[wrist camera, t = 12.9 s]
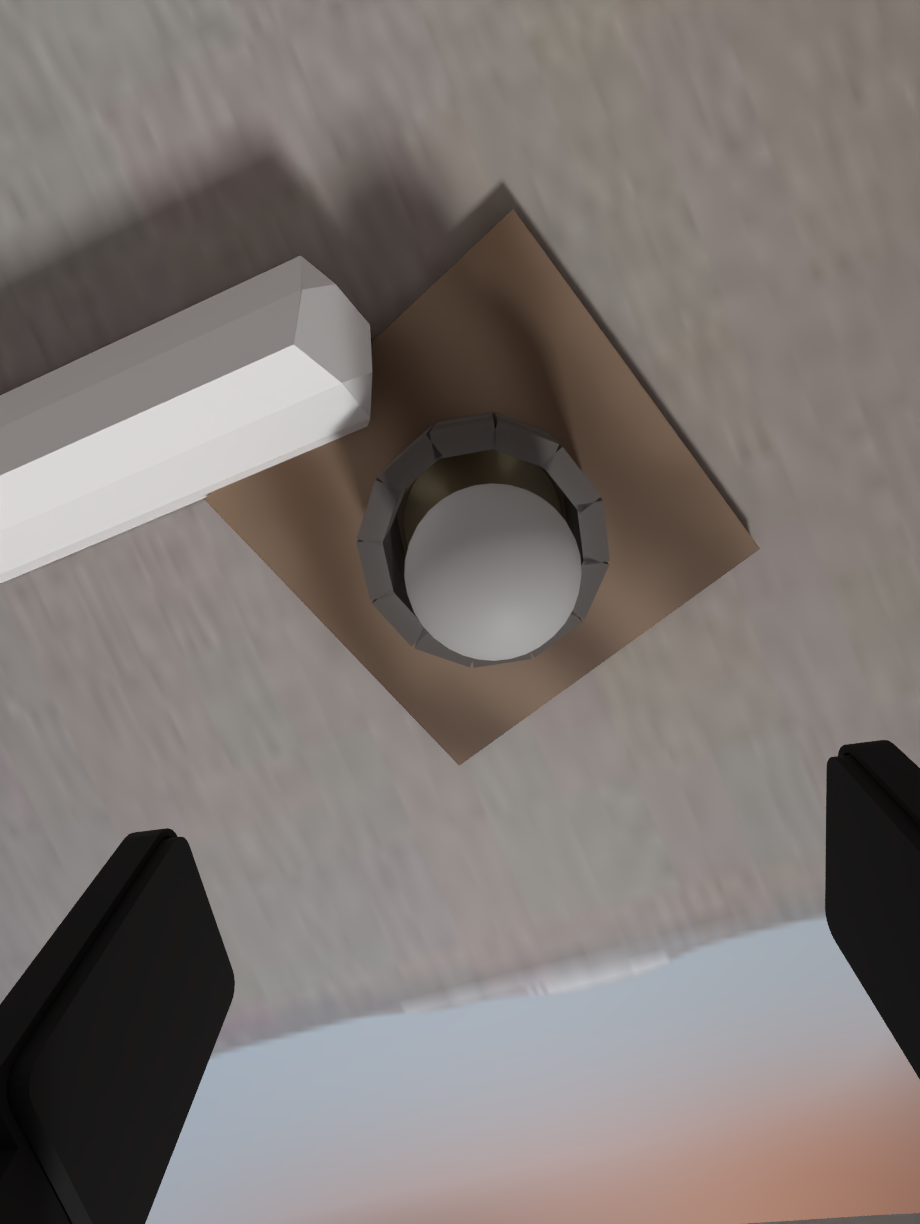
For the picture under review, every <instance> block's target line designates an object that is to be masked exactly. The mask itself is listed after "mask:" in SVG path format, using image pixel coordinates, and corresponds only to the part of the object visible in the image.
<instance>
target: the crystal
mask: <svg viewBox="0 0 920 1224" xmlns="http://www.w3.org/2000/svg"><path fill="white" fill-rule="evenodd" d="M301 291H302V293H301ZM300 298H301V300H300ZM299 305H300V307H299ZM298 312H299V313H298ZM297 319H298V320H297ZM296 326H297V327H296ZM306 354H307V355H306ZM311 358H312V359H311ZM316 362H317V363H316ZM321 366H322V367H321ZM325 369H326V370H327V371H326V370H325ZM330 373H331V374H332V375H331V374H330ZM335 377H336V378H337V379H336V378H335ZM340 381H341V382H340ZM343 384H344V385H343ZM347 389H348V390H347ZM371 391H372V354H371V334H370V324H369V323H368V322H367V321H366V320H365V318H364V317H363V316H362V315H361V314H360V313H359V311H358V310H357V309H356V308H355V307H354V305H353V304H352V303H351V302H350V301H349V299H348V298H347V297H346V296H345V295H344V294H343V292H342V291H341V290H340V289H339V288H338V286H337V285H336V284H335V283H334V282H332V281H331V280H330V279H329V278H327V277H326V276H325V275H324V274H323V273H321V272H320V271H319V270H318V269H317V268H315V267H314V266H313V265H312V264H311V263H309V262H308V261H307V260H306V259H304V258H303V257H302V256H301V255H300V256H298V257H296V258H294V259H292V260H290V261H287V262H285V263H283V264H281V265H279V266H277V267H275V268H272V269H270V270H268V271H266V272H264V273H262V274H259V275H257V276H255V277H253V278H251V279H249V280H247V281H244V282H242V283H240V284H238V285H236V286H234V287H232V288H229V289H227V290H225V291H223V292H221V293H219V294H217V295H214V296H212V297H210V298H208V299H206V300H204V301H202V302H199V303H197V304H195V305H193V306H191V307H189V308H187V309H184V310H182V311H180V312H178V313H176V314H174V315H172V316H169V317H167V318H165V319H163V320H161V321H159V322H157V323H154V324H152V325H150V326H148V327H146V328H144V329H142V330H139V331H137V332H135V333H133V334H131V335H129V336H127V337H124V338H122V339H120V340H118V341H116V342H114V343H112V344H109V345H107V346H105V347H103V348H101V349H99V350H97V351H94V352H92V353H90V354H88V355H86V356H84V357H82V358H79V359H77V360H75V361H73V362H71V363H69V364H67V365H64V366H62V367H60V368H58V369H56V370H54V371H52V372H49V373H47V374H45V375H43V376H41V377H39V378H37V379H34V380H32V381H30V382H28V383H26V384H24V385H22V386H19V387H17V388H15V389H13V390H11V391H9V392H6V393H4V394H2V395H0V583H3V582H5V581H8V580H10V579H12V578H15V577H17V576H20V575H22V574H24V573H27V572H29V571H32V570H34V569H36V568H39V567H41V566H43V565H46V564H48V563H51V562H53V561H55V560H58V559H60V558H63V557H65V556H67V555H70V554H72V553H74V552H77V551H79V550H82V549H84V548H86V547H89V546H91V545H94V544H96V543H98V542H101V541H103V540H105V539H108V538H110V537H113V536H115V535H117V534H120V533H122V532H125V531H127V530H129V529H132V528H134V527H136V526H139V525H141V524H144V523H146V522H148V521H151V520H153V519H156V518H158V517H160V516H163V515H165V514H167V513H170V512H172V511H175V510H177V509H179V508H182V507H184V506H187V505H189V504H191V503H194V502H196V501H198V500H201V499H203V498H206V497H207V496H208V495H210V494H211V493H212V492H213V491H215V490H217V489H220V488H222V487H224V486H227V485H229V484H232V483H234V482H236V481H239V480H241V479H243V478H246V477H248V476H251V475H253V474H255V473H258V472H260V471H262V470H265V469H267V468H270V467H272V466H274V465H277V464H279V463H281V462H284V461H286V460H289V459H291V458H293V457H296V456H298V455H300V454H303V453H305V452H308V451H310V450H312V449H315V448H317V447H320V446H322V445H324V444H327V443H329V442H331V441H334V440H336V439H339V438H341V437H343V436H346V435H348V434H350V433H353V432H355V431H358V430H360V429H362V428H365V427H367V426H368V423H369V421H370V411H371ZM351 394H352V395H351ZM358 403H359V404H358ZM362 408H363V409H362ZM362 421H363V422H362ZM350 426H351V427H350ZM343 429H344V430H343ZM331 434H332V435H331ZM324 437H325V438H324ZM305 445H306V446H305ZM286 453H287V454H286ZM279 456H280V457H279ZM267 461H268V462H267ZM260 464H261V465H260ZM241 472H242V473H241Z"/></svg>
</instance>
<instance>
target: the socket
mask: <svg viewBox="0 0 920 1224" xmlns="http://www.w3.org/2000/svg"><path fill="white" fill-rule="evenodd" d="M371 354H372V391H371V411H370V421H369V423H368V426H367V427H365V428H362V429H360V430H358V431H355V432H353V433H350V434H348V435H346V436H343V437H341V438H339V439H336V440H334V441H331V442H329V443H327V444H324V445H322V446H320V447H317V448H315V449H312V450H310V451H308V452H305V453H303V454H300V455H298V456H296V457H293V458H291V459H289V460H286V461H284V462H281V463H279V464H277V465H274V466H272V467H270V468H267V469H265V470H262V471H260V472H258V473H255V474H253V475H251V476H248V477H246V478H243V479H241V480H239V481H236V482H234V483H232V484H229V485H227V486H224V487H222V488H220V489H217V490H215V491H213V492H212V493H211V494H210V495H208V496H207V497H206V498H205V499H204V500H205V501H206V502H207V503H208V504H209V505H210V506H211V507H212V508H213V509H214V510H215V511H216V512H217V513H218V514H219V515H220V516H221V517H222V518H223V519H224V520H225V521H226V522H227V524H228V525H229V526H230V527H231V528H232V529H233V530H234V531H235V532H236V533H237V534H238V535H239V536H240V537H241V538H242V539H243V540H244V541H245V542H246V543H247V544H248V545H249V547H250V548H251V549H252V550H253V551H254V552H255V553H256V554H257V555H258V556H259V557H260V558H261V559H262V560H263V561H264V562H265V563H266V564H267V565H268V566H269V567H270V568H271V569H272V571H273V572H274V573H275V574H276V575H277V576H278V577H279V578H280V579H281V580H282V581H283V582H284V583H285V584H286V585H287V586H288V587H289V588H290V589H291V590H292V591H293V592H294V594H295V595H296V596H297V597H298V598H299V599H300V600H301V601H302V602H303V603H304V604H305V605H306V606H307V607H308V608H309V609H310V610H311V611H312V612H313V613H314V614H315V615H316V616H317V618H318V619H319V620H320V621H321V622H322V623H323V624H324V625H325V626H326V627H327V628H328V629H329V630H330V631H331V632H332V633H333V634H334V635H335V636H336V637H337V638H338V639H339V641H340V642H341V643H342V644H343V645H344V646H345V647H346V648H347V649H348V650H349V651H350V652H351V653H352V654H353V655H354V656H355V657H356V658H357V659H358V660H359V661H360V662H361V663H362V665H363V666H364V667H365V668H366V669H367V670H368V671H369V672H370V673H371V674H372V675H373V676H374V677H375V678H376V679H377V680H378V681H379V682H380V683H381V684H382V685H383V686H384V688H385V689H386V690H387V691H388V692H389V693H390V694H391V695H392V696H393V697H394V698H395V699H396V700H397V701H398V702H399V703H400V704H401V705H402V706H403V707H404V708H405V709H406V710H407V712H408V713H409V714H410V715H411V716H412V717H413V718H414V719H415V720H416V721H417V722H418V723H419V724H420V725H421V726H422V727H423V728H424V729H425V730H426V731H427V732H428V733H429V734H430V736H431V737H432V738H433V739H434V740H435V741H436V742H437V743H438V744H439V745H440V746H441V747H442V748H443V749H444V750H445V751H446V752H447V753H448V754H449V755H450V756H451V757H452V759H453V760H454V761H455V762H456V763H457V764H458V765H461V764H462V763H463V762H465V761H466V760H468V759H469V758H470V757H472V756H473V755H475V754H476V753H477V752H479V751H480V750H481V749H483V748H484V747H486V746H487V745H488V744H490V743H491V742H493V741H494V740H495V739H497V738H498V737H500V736H501V735H502V734H504V733H505V732H506V731H508V730H509V729H511V728H512V727H513V726H515V725H516V724H518V723H519V722H520V721H522V720H523V719H524V718H526V717H527V716H529V715H530V714H531V713H533V712H534V711H536V710H537V709H538V708H540V707H541V706H543V705H544V704H545V703H547V702H548V701H549V700H551V699H552V698H554V697H555V696H556V695H558V694H559V693H561V692H562V691H563V690H565V689H566V688H567V687H569V686H570V685H572V684H573V683H574V682H576V681H577V680H579V679H580V678H581V677H583V676H584V675H586V674H587V673H588V672H590V671H591V670H592V669H594V668H595V667H597V666H598V665H599V664H601V663H602V662H604V661H605V660H606V659H608V658H609V657H610V656H612V655H613V654H615V653H616V652H617V651H619V650H620V649H622V648H623V647H624V646H626V645H627V644H629V643H630V642H631V641H633V640H634V639H635V638H637V637H638V636H640V635H641V634H642V633H644V632H645V631H647V630H648V629H649V628H651V627H652V626H653V625H655V624H656V623H658V622H659V621H660V620H662V619H663V618H665V617H666V616H667V615H669V614H670V613H672V612H673V611H674V610H676V609H677V608H678V607H680V606H681V605H683V604H684V603H685V602H687V601H688V600H690V599H691V598H692V597H694V596H695V595H696V594H698V593H699V592H701V591H702V590H703V589H705V588H706V587H708V586H709V585H710V584H712V583H713V582H715V581H716V580H717V579H719V578H720V577H721V576H723V575H724V574H726V573H727V572H728V571H730V570H731V569H733V568H734V567H735V566H737V565H738V564H739V563H741V562H742V561H744V560H745V559H746V558H748V557H749V556H751V555H752V554H753V553H755V552H756V551H758V550H759V549H760V548H759V547H758V545H757V544H756V542H755V541H754V540H753V538H752V537H751V536H750V534H749V533H748V531H747V530H746V529H745V527H744V526H743V525H742V523H741V522H740V520H739V519H738V518H737V516H736V515H735V514H734V512H733V511H732V509H731V508H730V507H729V505H728V504H727V503H726V501H725V500H724V498H723V497H722V496H721V494H720V493H719V492H718V490H717V489H716V487H715V486H714V485H713V483H712V482H711V481H710V479H709V478H708V476H707V475H706V474H705V472H704V471H703V470H702V468H701V467H700V465H699V464H698V463H697V461H696V460H695V459H694V457H693V456H692V454H691V453H690V452H689V450H688V449H687V447H686V446H685V445H684V443H683V442H682V441H681V439H680V438H679V436H678V435H677V434H676V432H675V431H674V430H673V428H672V427H671V425H670V424H669V423H668V421H667V420H666V419H665V417H664V416H663V414H662V413H661V412H660V410H659V409H658V408H657V406H656V405H655V403H654V402H653V401H652V399H651V398H650V397H649V395H648V394H647V392H646V391H645V390H644V388H643V387H642V386H641V384H640V383H639V381H638V380H637V379H636V377H635V376H634V375H633V373H632V372H631V370H630V369H629V368H628V366H627V365H626V364H625V362H624V361H623V359H622V358H621V357H620V355H619V354H618V353H617V351H616V350H615V348H614V347H613V346H612V344H611V343H610V342H609V340H608V339H607V337H606V336H605V335H604V333H603V332H602V330H601V329H600V328H599V326H598V325H597V324H596V322H595V321H594V319H593V318H592V317H591V315H590V314H589V313H588V311H587V310H586V308H585V307H584V306H583V304H582V303H581V302H580V300H579V299H578V297H577V296H576V295H575V293H574V292H573V291H572V289H571V288H570V286H569V285H568V284H567V282H566V281H565V280H564V278H563V277H562V275H561V274H560V273H559V271H558V270H557V269H556V267H555V266H554V264H553V263H552V262H551V260H550V259H549V258H548V256H547V255H546V253H545V252H544V251H543V249H542V248H541V247H540V245H539V244H538V242H537V241H536V240H535V238H534V237H533V236H532V234H531V233H530V231H529V230H528V229H527V227H526V226H525V224H524V223H523V222H522V220H521V219H520V218H519V216H518V215H517V213H516V212H515V211H514V209H512V210H511V211H510V212H509V213H508V214H507V215H506V216H505V217H504V218H503V219H502V220H501V221H500V222H499V223H498V224H496V225H495V226H494V227H493V228H492V229H491V230H490V231H489V232H488V233H487V234H486V235H485V236H484V237H483V238H482V239H481V240H479V241H478V242H477V243H476V244H475V245H474V246H473V247H472V248H471V249H470V250H469V251H468V252H467V253H466V254H465V255H463V256H462V257H461V258H460V259H459V260H458V261H457V262H456V263H455V264H454V265H453V266H452V267H451V268H450V269H449V270H448V271H446V272H445V273H444V274H443V275H442V276H441V277H440V278H439V279H438V280H437V281H436V282H435V283H434V284H433V285H432V286H431V287H429V288H428V289H427V290H426V291H425V292H424V293H423V294H422V295H421V296H420V297H419V298H418V299H417V300H416V301H415V302H414V303H412V304H411V305H410V306H409V307H408V308H407V309H406V310H405V311H404V312H403V313H402V314H401V315H400V316H399V317H398V318H397V319H395V320H394V321H393V322H392V323H391V324H390V325H389V326H388V327H387V328H386V329H385V330H384V331H383V332H382V333H381V334H380V335H378V336H377V337H376V338H375V339H374V340H373V341H372V342H371ZM335 378H336V377H335ZM336 379H337V378H336ZM340 382H341V381H340ZM343 385H344V384H343ZM347 390H348V389H347ZM351 395H352V394H351ZM358 404H359V403H358ZM362 409H363V408H362ZM362 422H363V421H362ZM350 427H351V426H350ZM343 430H344V429H343ZM331 435H332V434H331ZM324 438H325V437H324ZM305 446H306V445H305ZM286 454H287V453H286ZM279 457H280V456H279ZM267 462H268V461H267ZM260 465H261V464H260ZM241 473H242V472H241ZM490 483H492V484H506V485H512V486H515V487H519V488H522V489H526V490H528V491H530V492H532V493H534V494H536V495H538V496H540V497H541V498H543V499H544V500H545V501H547V502H548V503H549V504H550V505H552V506H553V507H554V508H555V509H556V510H557V511H558V513H559V514H560V515H561V516H562V517H563V519H564V520H565V521H566V523H567V524H568V526H569V528H570V530H571V532H572V534H573V536H574V538H575V539H576V543H577V546H578V549H579V553H580V557H581V571H582V574H581V582H580V589H579V594H578V597H577V600H576V603H575V606H574V608H573V611H572V612H571V614H570V616H569V617H568V619H567V621H566V622H565V624H564V625H563V626H562V627H561V628H560V630H559V631H558V632H557V633H556V634H555V635H554V636H553V637H552V638H551V639H549V640H548V641H547V642H546V643H544V644H543V645H542V646H540V647H539V648H537V649H535V650H533V651H531V652H529V653H527V654H525V655H522V656H519V657H515V658H512V659H506V660H497V661H491V660H478V659H474V658H471V657H467V656H463V655H461V654H459V653H457V652H455V651H452V650H450V649H449V648H447V647H446V646H444V645H443V644H442V643H440V642H439V641H437V640H436V639H435V638H433V637H432V635H431V634H430V633H429V632H428V631H427V630H426V629H425V628H424V627H423V626H422V624H421V623H420V621H419V619H418V618H417V616H416V615H415V613H414V611H413V608H412V605H411V603H410V600H409V598H408V595H407V590H406V584H405V578H404V573H405V558H406V554H407V550H408V546H409V543H410V540H411V538H412V536H413V534H414V532H415V530H416V528H417V526H418V524H419V523H420V521H421V520H422V519H423V518H424V516H425V515H426V514H427V512H428V511H429V510H430V509H432V508H433V507H434V506H435V505H436V504H437V503H438V502H440V501H441V500H442V499H444V498H446V497H447V496H449V495H451V494H453V493H454V492H456V491H459V490H462V489H465V488H468V487H471V486H474V485H482V484H490Z"/></svg>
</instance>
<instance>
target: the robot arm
mask: <svg viewBox="0 0 920 1224" xmlns="http://www.w3.org/2000/svg"><path fill="white" fill-rule="evenodd" d="M825 911H826V918H827V922H828V926H829V929H830V931H831V934H832V936H833V938H834V939H835V941H836V943H837V945H838V946H839V948H840V950H841V951H842V953H843V955H844V956H845V958H846V959H847V961H848V963H849V964H850V966H851V968H852V969H853V971H854V973H855V974H856V976H857V977H858V979H859V981H860V982H861V984H862V986H863V987H864V989H865V990H866V992H867V994H868V995H869V997H870V999H871V1000H872V1002H873V1004H874V1005H875V1007H876V1009H877V1010H878V1012H879V1013H880V1015H881V1017H882V1018H883V1020H884V1022H885V1023H886V1025H887V1027H888V1028H889V1030H890V1031H891V1033H892V1035H893V1036H894V1038H895V1039H896V1041H897V1043H898V1044H899V1046H900V1048H901V1049H902V1051H903V1053H904V1054H905V1056H906V1057H907V1059H908V1061H909V1062H910V1064H911V1066H912V1067H913V1069H914V1070H915V1072H916V1074H917V1076H918V1077H919V1079H920V768H919V767H918V766H917V765H916V764H915V763H914V762H912V761H911V760H910V759H909V758H908V757H907V756H906V755H905V754H904V753H903V752H902V751H901V750H900V749H898V748H897V747H896V746H895V745H894V744H893V743H891V742H890V741H887V740H880V741H872V742H864V743H856V744H848V745H843V746H842V747H841V748H840V750H839V753H838V756H837V757H831V758H830V759H829V760H828V762H827V794H826V890H825ZM234 985H235V981H234V974H233V970H232V967H231V964H230V961H229V958H228V956H227V953H226V950H225V947H224V944H223V941H222V938H221V935H220V932H219V930H218V927H217V924H216V921H215V918H214V915H213V912H212V909H211V907H210V904H209V901H208V898H207V895H206V892H205V889H204V886H203V883H202V881H201V878H200V875H199V872H198V869H197V866H196V863H195V860H194V858H193V855H192V852H191V849H190V846H189V844H188V842H187V840H186V839H185V838H184V837H177V835H176V833H175V832H174V831H173V830H171V829H168V828H167V829H159V830H151V831H143V832H135V833H131V834H129V835H128V836H127V837H126V838H125V839H124V840H123V841H122V843H121V844H120V845H119V847H118V848H117V849H116V851H115V852H114V853H113V855H112V856H111V857H110V859H109V860H108V861H107V863H106V864H105V865H104V867H103V868H102V869H101V871H100V872H99V873H98V875H97V876H96V877H95V879H94V880H93V881H92V883H91V884H90V885H89V887H88V888H87V889H86V891H85V892H84V893H83V895H82V896H81V897H80V899H79V900H78V901H77V903H76V904H75V905H74V907H73V908H72V909H71V911H70V912H69V913H68V915H67V916H66V917H65V919H64V920H63V921H62V923H61V924H60V925H59V927H58V928H57V929H56V931H55V932H54V933H53V935H52V936H51V937H50V939H49V940H48V941H47V943H46V944H45V946H44V947H43V948H42V950H41V951H40V952H39V954H38V955H37V956H36V958H35V959H34V960H33V962H32V963H31V964H30V966H29V967H28V968H27V970H26V971H25V972H24V974H23V975H22V976H21V978H20V979H19V980H18V982H17V983H16V984H15V986H14V987H13V988H12V990H11V991H10V992H9V994H8V995H7V996H6V998H5V999H4V1000H3V1002H2V1003H1V1004H0V1224H145V1222H146V1220H147V1217H148V1215H149V1212H150V1210H151V1207H152V1204H153V1202H154V1199H155V1197H156V1194H157V1192H158V1189H159V1186H160V1184H161V1181H162V1179H163V1176H164V1174H165V1171H166V1169H167V1166H168V1163H169V1161H170V1158H171V1156H172V1153H173V1151H174V1148H175V1146H176V1143H177V1140H178V1138H179V1135H180V1133H181V1130H182V1128H183V1125H184V1122H185V1120H186V1117H187V1114H188V1112H189V1110H190V1107H191V1104H192V1101H193V1099H194V1097H195V1094H196V1092H197V1089H198V1087H199V1084H200V1081H201V1079H202V1076H203V1074H204V1071H205V1069H206V1066H207V1063H208V1061H209V1058H210V1056H211V1053H212V1051H213V1048H214V1046H215V1043H216V1040H217V1038H218V1035H219V1033H220V1030H221V1028H222V1025H223V1022H224V1020H225V1017H226V1015H227V1012H228V1010H229V1007H230V1004H231V1002H232V999H233V994H234ZM749 1224H920V1213H914V1214H892V1215H874V1216H873V1215H872V1216H858V1217H841V1218H827V1219H811V1220H797V1221H796V1220H795V1221H781V1222H765V1223H749Z"/></svg>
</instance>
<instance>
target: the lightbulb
mask: <svg viewBox="0 0 920 1224" xmlns="http://www.w3.org/2000/svg"><path fill="white" fill-rule="evenodd" d="M581 574H582V571H581V557H580V553H579V549H578V546H577V543H576V539H575V538H574V536H573V534H572V532H571V530H570V528H569V526H568V524H567V523H566V521H565V520H564V519H563V517H562V516H561V515H560V514H559V513H558V511H557V510H556V509H555V508H554V507H553V506H552V505H550V504H549V503H548V502H547V501H545V500H544V499H543V498H541V497H540V496H538V495H536V494H534V493H532V492H530V491H528V490H526V489H522V488H519V487H515V486H512V485H506V484H492V483H490V484H482V485H474V486H471V487H468V488H465V489H462V490H459V491H456V492H454V493H453V494H451V495H449V496H447V497H446V498H444V499H442V500H441V501H440V502H438V503H437V504H436V505H435V506H434V507H433V508H432V509H430V510H429V511H428V512H427V514H426V515H425V516H424V518H423V519H422V520H421V521H420V523H419V524H418V526H417V528H416V530H415V532H414V534H413V536H412V538H411V540H410V543H409V546H408V550H407V554H406V558H405V573H404V578H405V584H406V590H407V595H408V598H409V600H410V603H411V605H412V608H413V611H414V613H415V615H416V616H417V618H418V619H419V621H420V623H421V624H422V626H423V627H424V628H425V629H426V630H427V631H428V632H429V633H430V634H431V635H432V637H433V638H435V639H436V640H437V641H439V642H440V643H442V644H443V645H444V646H446V647H447V648H449V649H450V650H452V651H455V652H457V653H459V654H461V655H463V656H467V657H471V658H474V659H478V660H491V661H497V660H506V659H512V658H515V657H519V656H522V655H525V654H527V653H529V652H531V651H533V650H535V649H537V648H539V647H540V646H542V645H543V644H544V643H546V642H547V641H548V640H549V639H551V638H552V637H553V636H554V635H555V634H556V633H557V632H558V631H559V630H560V628H561V627H562V626H563V625H564V624H565V622H566V621H567V619H568V617H569V616H570V614H571V612H572V611H573V608H574V606H575V603H576V600H577V597H578V594H579V589H580V582H581Z"/></svg>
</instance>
